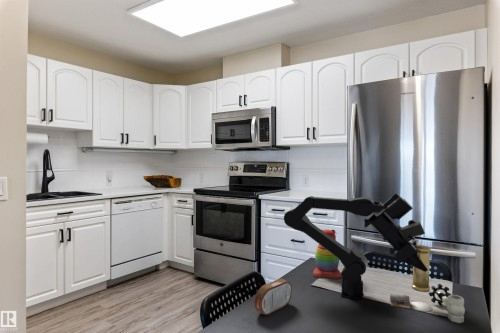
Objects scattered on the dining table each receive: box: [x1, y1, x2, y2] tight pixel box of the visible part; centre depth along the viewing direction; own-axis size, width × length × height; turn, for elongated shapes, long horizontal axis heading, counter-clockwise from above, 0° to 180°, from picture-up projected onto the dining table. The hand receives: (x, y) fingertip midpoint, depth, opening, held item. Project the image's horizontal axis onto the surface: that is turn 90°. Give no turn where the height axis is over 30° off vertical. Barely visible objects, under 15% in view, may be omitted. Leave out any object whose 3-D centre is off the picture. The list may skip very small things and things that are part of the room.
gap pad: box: [409, 301, 433, 312], centre depth 98 cm, size 6×6×1 cm
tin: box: [253, 278, 293, 316], centre depth 96 cm, size 15×3×8 cm, turn 135°
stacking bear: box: [312, 229, 342, 280], centre depth 126 cm, size 11×10×18 cm
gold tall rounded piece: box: [411, 244, 432, 293], centre depth 98 cm, size 5×5×13 cm
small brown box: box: [389, 293, 411, 309], centre depth 100 cm, size 5×5×3 cm
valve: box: [427, 283, 466, 324], centre depth 94 cm, size 7×7×12 cm
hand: (426, 268), depth 97 cm, fingers closed on gold tall rounded piece, 4 cm apart
